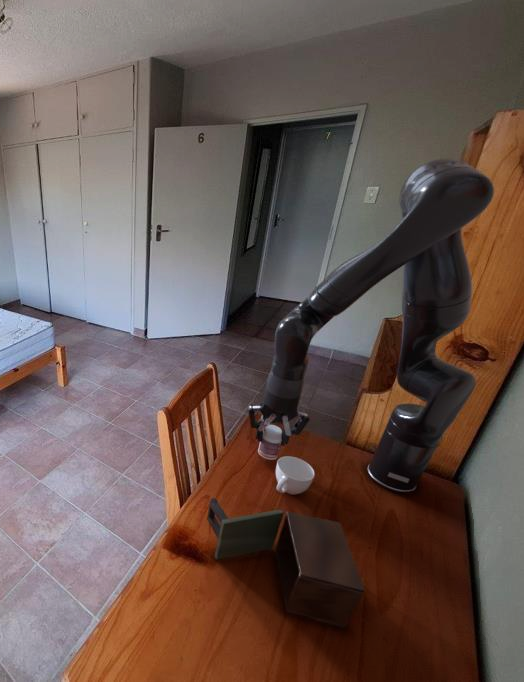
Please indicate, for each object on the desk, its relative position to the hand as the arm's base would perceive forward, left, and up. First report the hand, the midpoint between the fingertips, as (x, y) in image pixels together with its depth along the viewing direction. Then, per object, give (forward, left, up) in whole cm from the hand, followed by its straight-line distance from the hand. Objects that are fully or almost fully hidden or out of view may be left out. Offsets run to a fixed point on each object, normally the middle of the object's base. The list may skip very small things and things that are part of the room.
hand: (270, 441), depth 95 cm
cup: (+5, +9, -6) cm, 12 cm away
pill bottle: (0, 0, -5) cm, 5 cm away
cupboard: (+22, +25, -6) cm, 34 cm away
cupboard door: (+26, +12, -6) cm, 29 cm away
